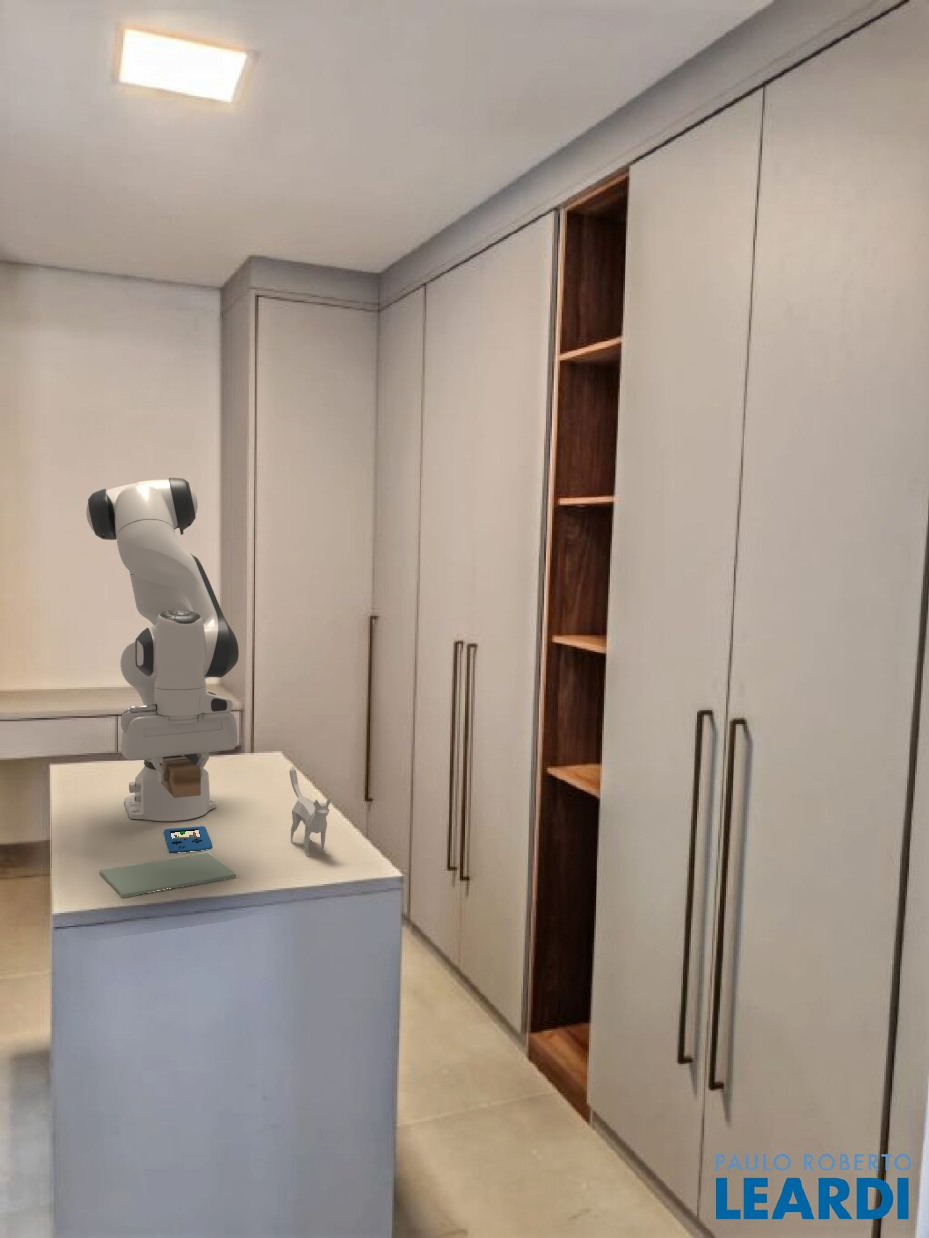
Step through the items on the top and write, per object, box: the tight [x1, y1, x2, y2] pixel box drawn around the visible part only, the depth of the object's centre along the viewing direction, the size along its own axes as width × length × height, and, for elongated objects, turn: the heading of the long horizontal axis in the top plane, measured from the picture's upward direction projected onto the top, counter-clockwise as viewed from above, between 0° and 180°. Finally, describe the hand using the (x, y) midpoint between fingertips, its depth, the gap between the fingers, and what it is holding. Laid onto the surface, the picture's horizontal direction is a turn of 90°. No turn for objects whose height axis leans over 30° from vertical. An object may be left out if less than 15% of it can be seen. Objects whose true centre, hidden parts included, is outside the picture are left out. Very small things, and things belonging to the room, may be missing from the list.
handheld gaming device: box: [163, 825, 213, 854], centre depth 201 cm, size 8×1×15 cm
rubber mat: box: [99, 852, 237, 898], centre depth 180 cm, size 14×20×1 cm
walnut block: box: [161, 757, 201, 798], centre depth 180 cm, size 11×4×5 cm, turn 28°
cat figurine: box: [289, 765, 332, 857], centre depth 198 cm, size 4×20×14 cm, turn 28°
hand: (180, 779), depth 180 cm, fingers closed on walnut block, 5 cm apart
